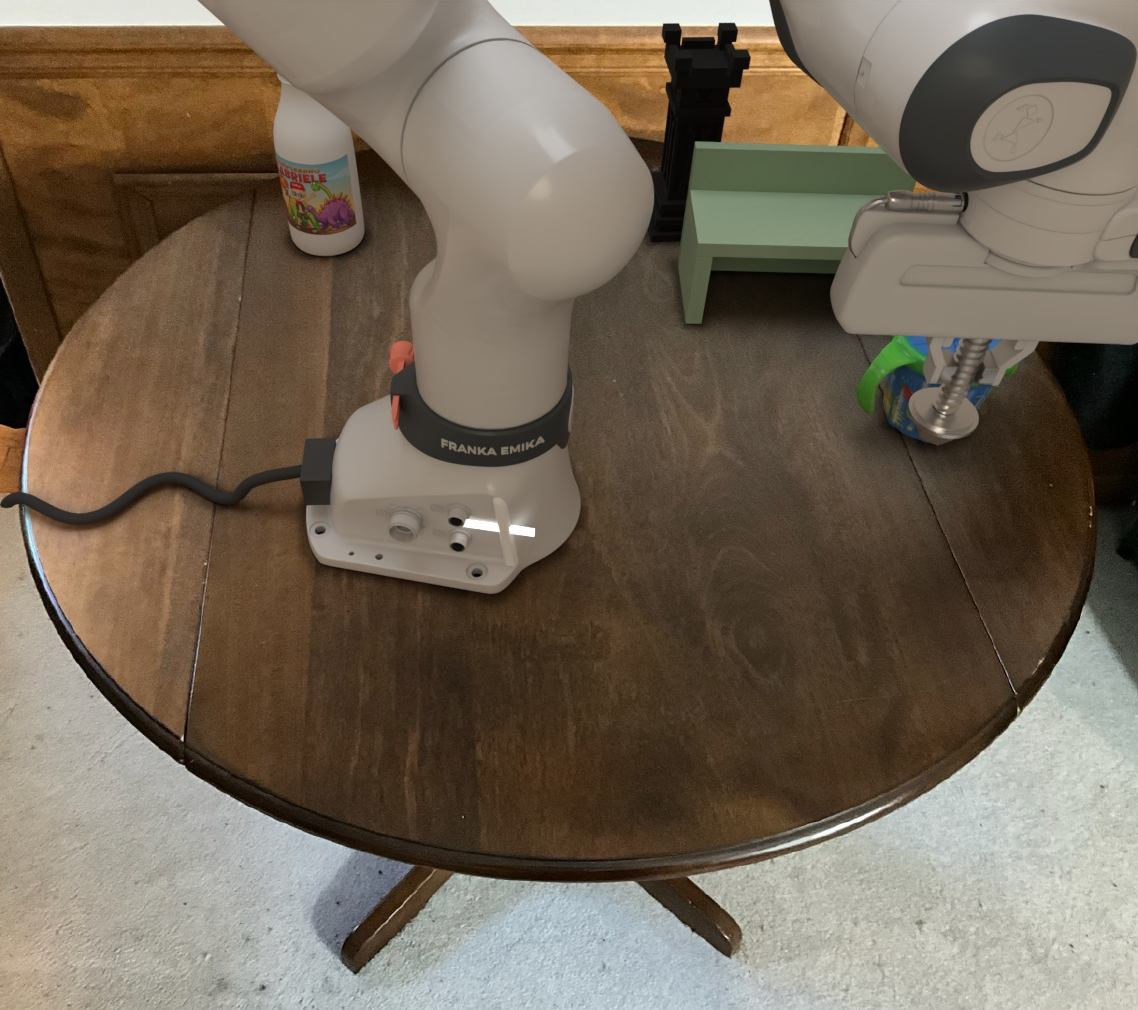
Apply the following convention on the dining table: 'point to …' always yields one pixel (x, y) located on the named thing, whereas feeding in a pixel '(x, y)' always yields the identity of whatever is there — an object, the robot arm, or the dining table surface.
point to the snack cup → (908, 380)
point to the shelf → (775, 209)
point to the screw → (950, 398)
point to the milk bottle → (317, 175)
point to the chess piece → (692, 115)
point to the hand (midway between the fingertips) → (959, 378)
